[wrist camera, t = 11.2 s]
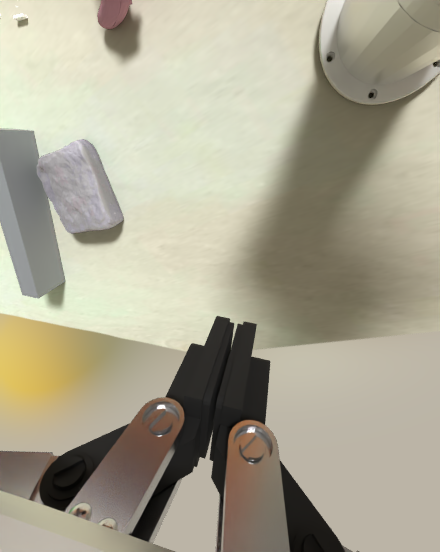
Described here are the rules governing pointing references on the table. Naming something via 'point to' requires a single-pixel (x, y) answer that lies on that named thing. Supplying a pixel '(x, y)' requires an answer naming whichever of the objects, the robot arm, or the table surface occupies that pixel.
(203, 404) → the robot arm
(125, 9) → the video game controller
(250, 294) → the table surface
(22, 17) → the miniature furniture
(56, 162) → the stone block
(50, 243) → the board
